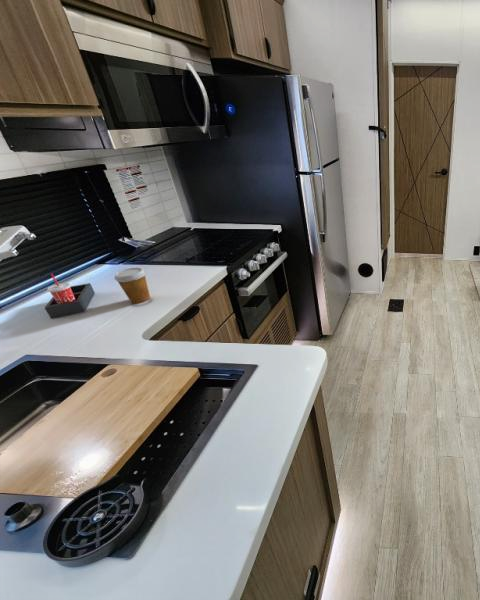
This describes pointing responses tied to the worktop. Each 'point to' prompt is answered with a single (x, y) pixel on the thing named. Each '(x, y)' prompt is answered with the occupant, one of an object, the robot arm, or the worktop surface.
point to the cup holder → (82, 297)
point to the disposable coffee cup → (133, 284)
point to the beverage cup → (61, 292)
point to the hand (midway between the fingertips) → (25, 244)
